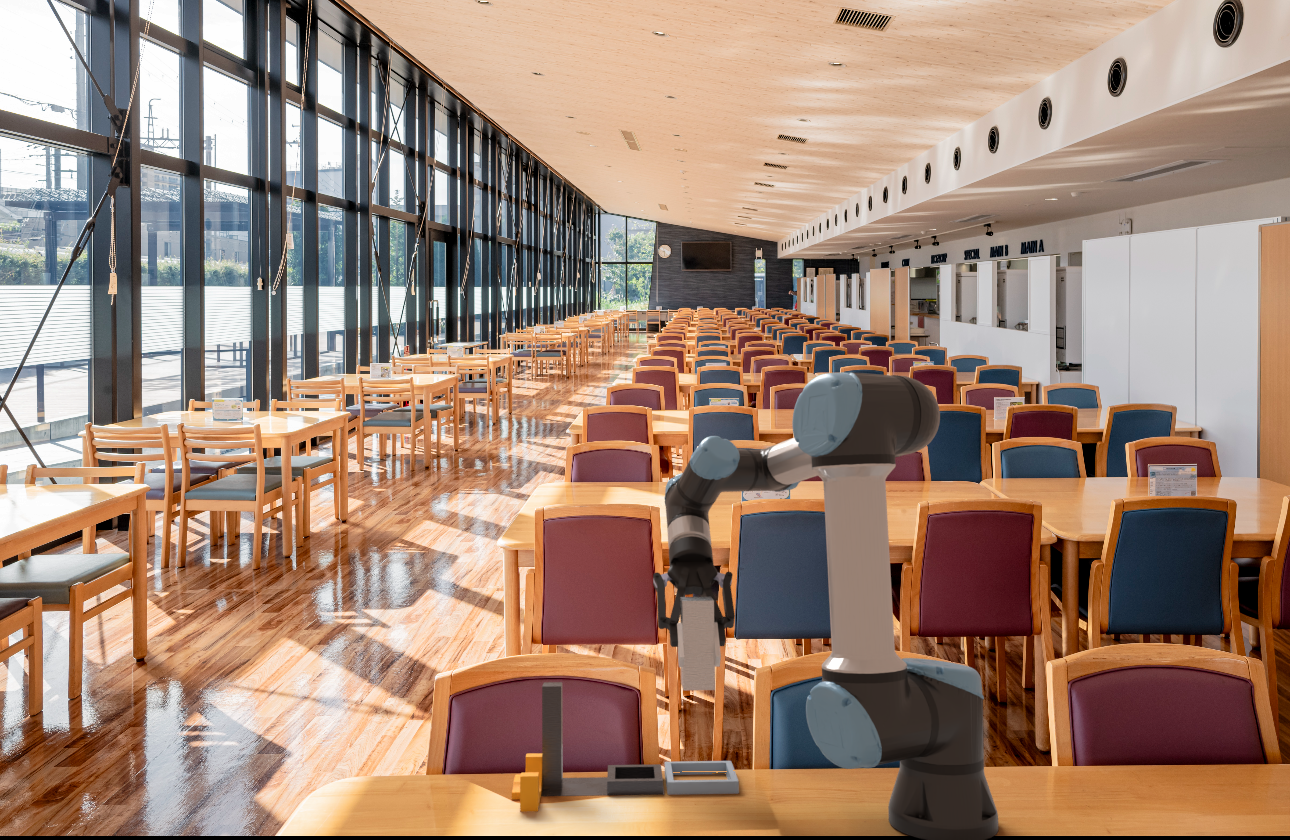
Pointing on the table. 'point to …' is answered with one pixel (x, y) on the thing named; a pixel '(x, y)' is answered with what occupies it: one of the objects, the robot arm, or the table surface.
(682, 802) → the table surface
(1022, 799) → the table surface
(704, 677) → the light grey tall block
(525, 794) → the pipe clamp
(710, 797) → the table surface
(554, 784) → the dark grey post stand
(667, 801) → the table surface
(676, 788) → the parts tray
